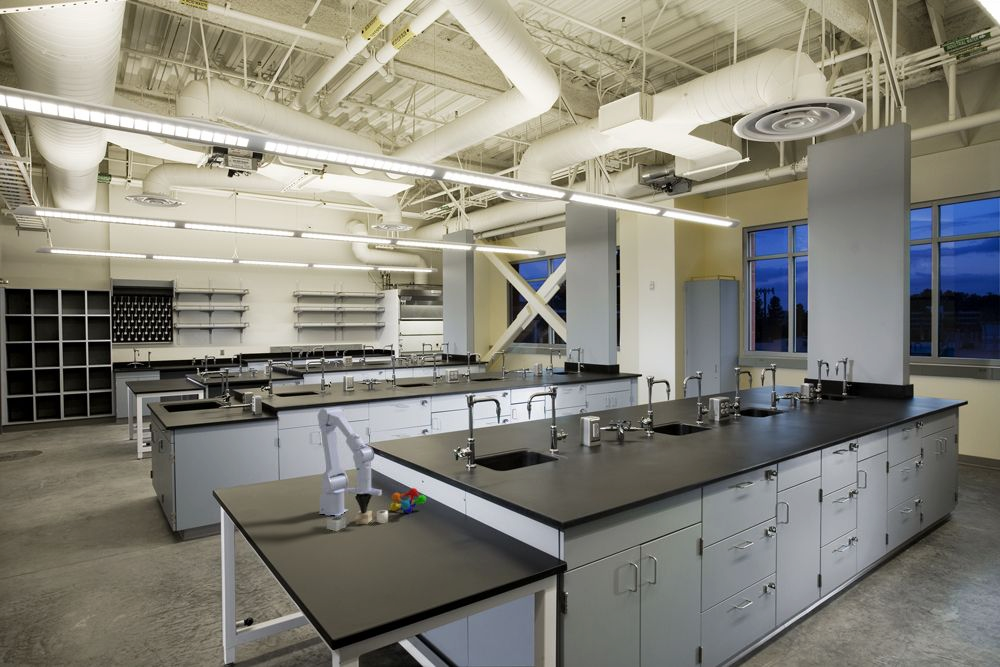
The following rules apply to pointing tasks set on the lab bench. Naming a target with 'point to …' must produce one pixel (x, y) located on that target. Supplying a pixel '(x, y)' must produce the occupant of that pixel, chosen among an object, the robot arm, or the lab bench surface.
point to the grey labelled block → (336, 523)
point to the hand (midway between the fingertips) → (363, 512)
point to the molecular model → (407, 501)
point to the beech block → (363, 517)
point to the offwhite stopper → (382, 516)
